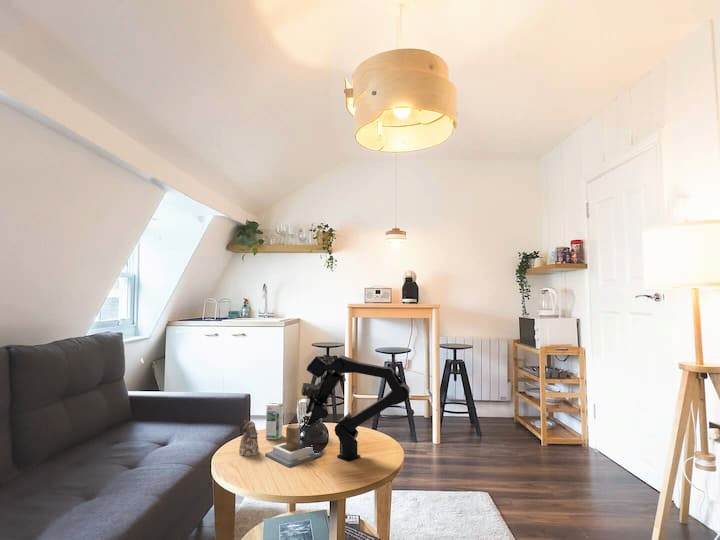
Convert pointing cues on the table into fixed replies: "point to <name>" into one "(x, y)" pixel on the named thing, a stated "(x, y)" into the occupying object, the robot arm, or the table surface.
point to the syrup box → (274, 420)
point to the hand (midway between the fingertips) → (307, 419)
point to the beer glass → (302, 409)
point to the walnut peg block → (293, 437)
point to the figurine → (249, 440)
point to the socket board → (291, 455)
